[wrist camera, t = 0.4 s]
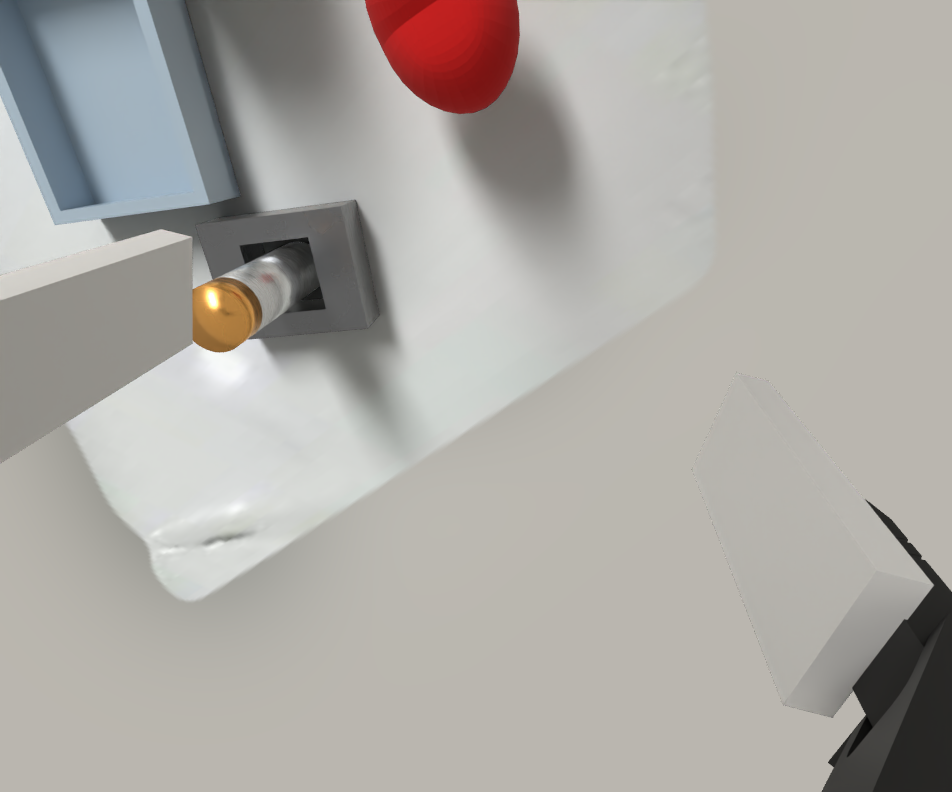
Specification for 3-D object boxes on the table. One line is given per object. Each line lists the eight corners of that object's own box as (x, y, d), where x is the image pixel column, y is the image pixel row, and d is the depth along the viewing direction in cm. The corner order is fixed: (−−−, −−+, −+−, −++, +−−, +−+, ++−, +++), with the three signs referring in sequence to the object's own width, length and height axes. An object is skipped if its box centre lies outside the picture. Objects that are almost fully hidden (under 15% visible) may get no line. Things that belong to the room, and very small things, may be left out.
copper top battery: (270, 244, 41) (169, 290, 30) (318, 238, 41) (233, 283, 30) (284, 294, 43) (193, 355, 32) (330, 289, 42) (253, 349, 31)
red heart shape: (371, -20, 34) (304, -69, 25) (478, -95, 32) (448, -178, 23) (447, 137, 37) (413, 145, 28) (550, 78, 35) (549, 66, 26)
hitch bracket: (218, 217, 41) (195, 225, 38) (355, 199, 39) (340, 206, 36) (252, 327, 44) (232, 340, 41) (379, 314, 42) (367, 328, 40)
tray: (2, -31, 36) (-60, -47, 32) (165, -68, 34) (119, -89, 30) (97, 215, 42) (54, 225, 38) (240, 196, 40) (209, 204, 36)
